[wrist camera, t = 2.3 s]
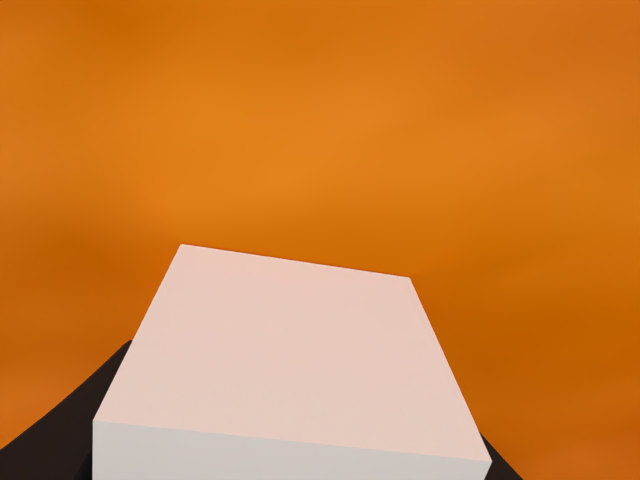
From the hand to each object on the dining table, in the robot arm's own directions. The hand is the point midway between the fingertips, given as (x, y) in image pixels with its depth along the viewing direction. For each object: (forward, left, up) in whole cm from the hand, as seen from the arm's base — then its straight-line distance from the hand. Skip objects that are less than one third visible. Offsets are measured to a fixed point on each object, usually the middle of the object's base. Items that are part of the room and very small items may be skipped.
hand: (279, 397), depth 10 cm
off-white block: (0, 0, -1) cm, 1 cm away
